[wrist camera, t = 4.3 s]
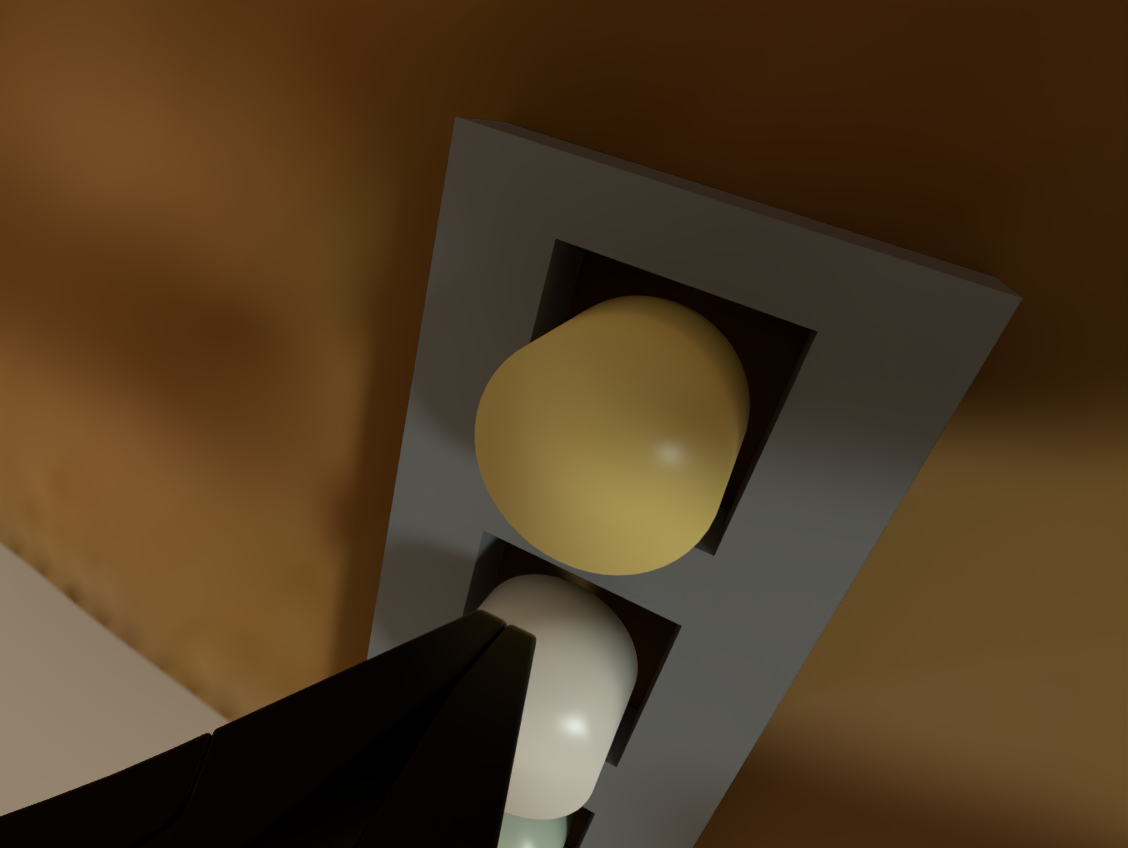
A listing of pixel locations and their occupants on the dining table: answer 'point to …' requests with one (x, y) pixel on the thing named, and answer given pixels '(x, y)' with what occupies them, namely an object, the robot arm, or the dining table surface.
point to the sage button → (534, 831)
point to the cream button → (564, 691)
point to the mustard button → (615, 434)
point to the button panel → (773, 480)
